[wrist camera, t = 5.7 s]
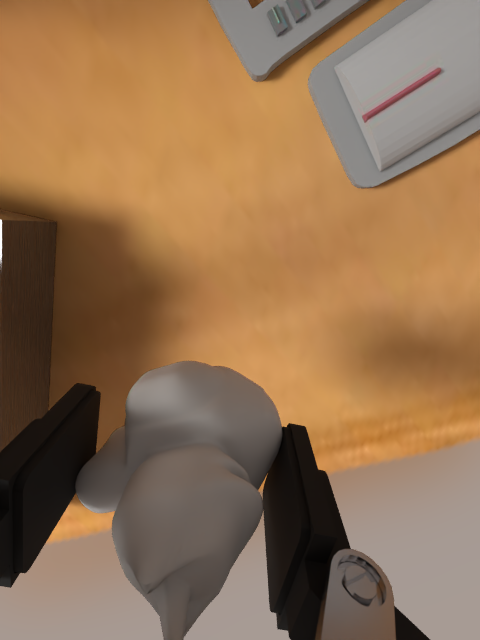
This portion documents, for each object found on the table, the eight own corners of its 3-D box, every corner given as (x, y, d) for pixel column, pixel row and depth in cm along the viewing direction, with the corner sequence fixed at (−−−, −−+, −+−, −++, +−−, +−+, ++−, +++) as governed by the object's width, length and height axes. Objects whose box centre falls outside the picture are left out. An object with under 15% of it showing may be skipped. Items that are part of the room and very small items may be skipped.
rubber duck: (291, 439, 13) (355, 746, 6) (144, 476, 14) (23, 792, 6) (254, 321, 12) (272, 526, 4) (90, 369, 12) (-161, 620, 5)
